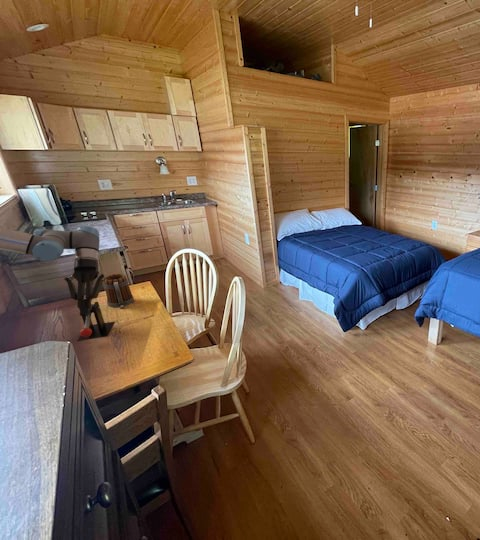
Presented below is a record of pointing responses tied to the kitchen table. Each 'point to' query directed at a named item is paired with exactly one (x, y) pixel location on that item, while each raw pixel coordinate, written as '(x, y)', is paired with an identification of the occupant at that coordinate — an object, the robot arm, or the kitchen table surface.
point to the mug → (118, 291)
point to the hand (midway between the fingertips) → (83, 315)
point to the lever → (87, 324)
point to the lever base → (97, 325)
